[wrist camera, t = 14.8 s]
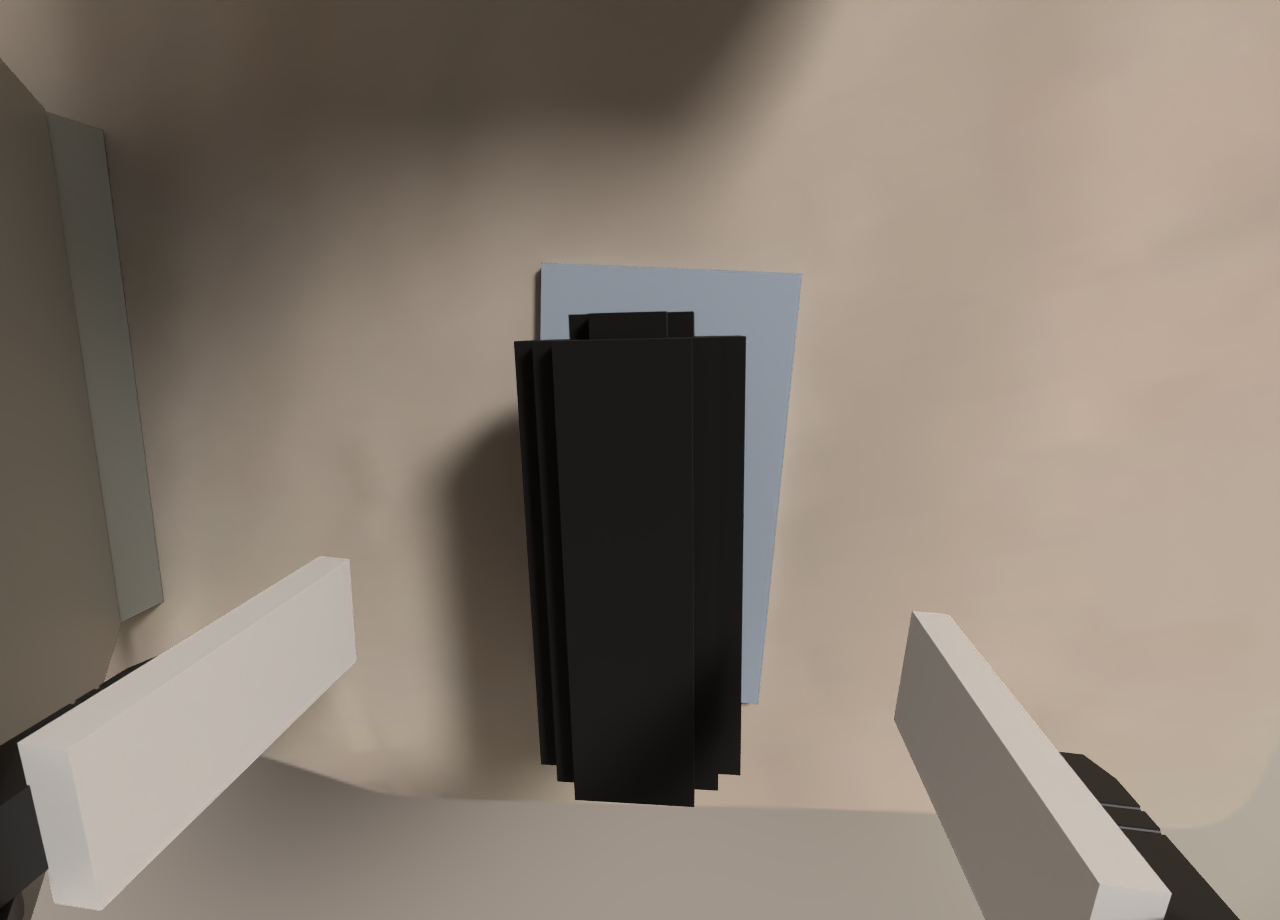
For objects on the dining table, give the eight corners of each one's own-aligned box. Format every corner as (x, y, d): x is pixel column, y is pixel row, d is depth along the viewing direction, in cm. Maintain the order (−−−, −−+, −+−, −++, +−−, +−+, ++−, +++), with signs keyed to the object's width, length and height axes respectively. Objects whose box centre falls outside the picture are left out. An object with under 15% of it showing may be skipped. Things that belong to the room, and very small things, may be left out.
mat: (545, 264, 27) (541, 262, 26) (800, 274, 26) (802, 273, 25) (538, 674, 31) (535, 680, 30) (756, 696, 30) (758, 704, 29)
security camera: (589, 700, 30) (534, 875, 20) (572, 320, 26) (495, 314, 17) (729, 705, 29) (741, 891, 20) (733, 316, 26) (750, 307, 16)
